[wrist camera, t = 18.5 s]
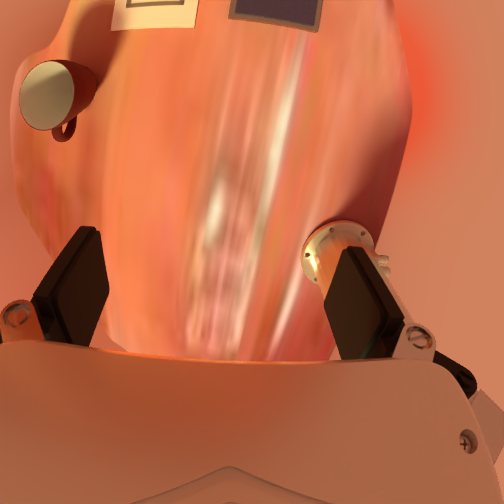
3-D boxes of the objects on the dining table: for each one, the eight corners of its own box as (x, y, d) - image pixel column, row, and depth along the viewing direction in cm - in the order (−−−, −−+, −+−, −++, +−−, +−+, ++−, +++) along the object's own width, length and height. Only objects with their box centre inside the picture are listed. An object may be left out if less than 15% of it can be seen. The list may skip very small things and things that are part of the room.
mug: (111, 128, 35) (79, 147, 26) (62, 135, 34) (25, 156, 26) (109, 54, 29) (74, 52, 21) (58, 65, 28) (17, 70, 20)
